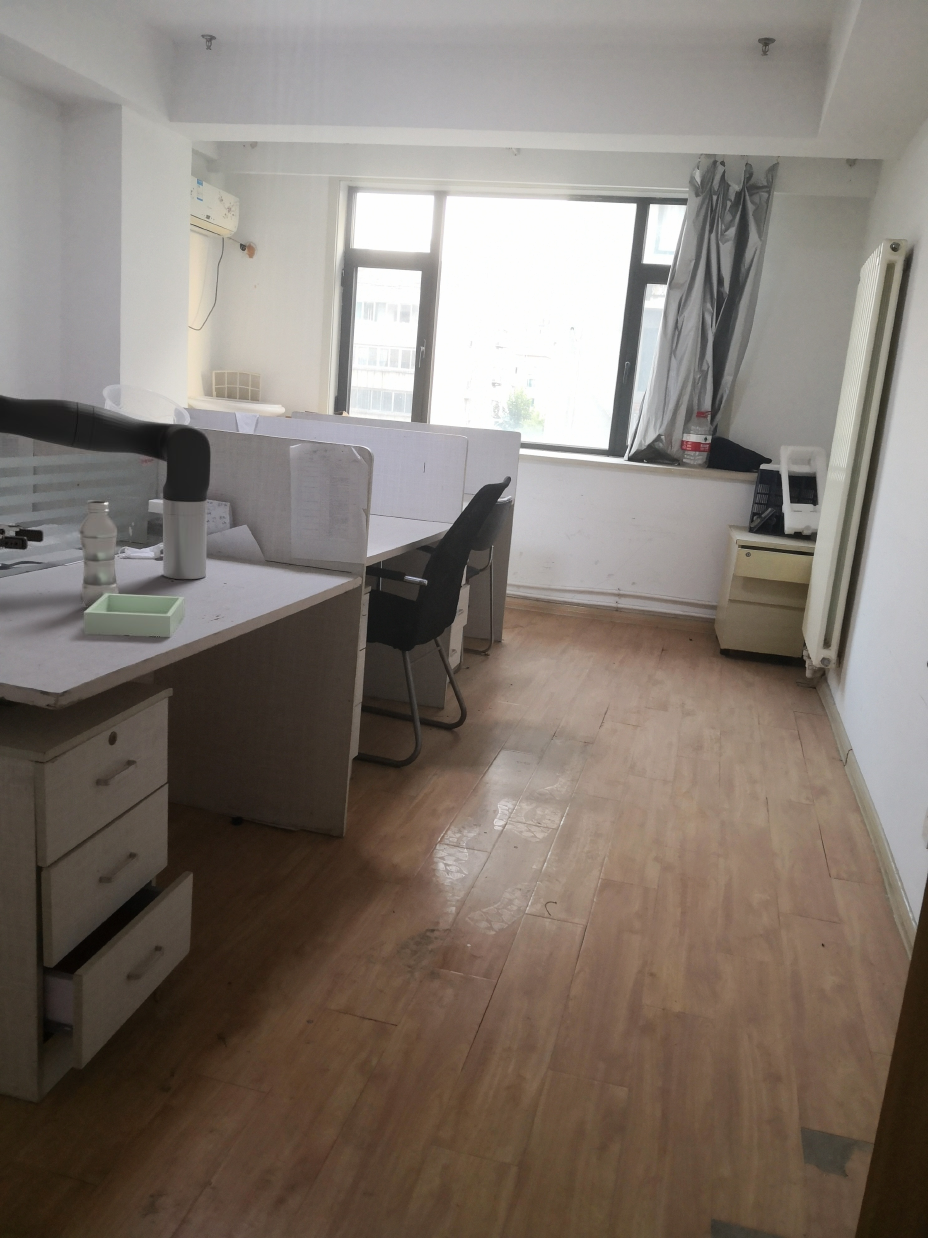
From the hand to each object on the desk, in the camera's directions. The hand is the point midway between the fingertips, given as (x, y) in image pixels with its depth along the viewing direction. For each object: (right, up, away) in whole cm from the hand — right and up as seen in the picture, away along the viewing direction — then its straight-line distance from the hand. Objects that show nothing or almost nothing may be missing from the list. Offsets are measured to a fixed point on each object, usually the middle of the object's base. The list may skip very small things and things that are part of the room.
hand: (35, 539), depth 160 cm
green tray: (+20, -16, -4) cm, 26 cm away
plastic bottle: (+10, -13, +5) cm, 17 cm away
